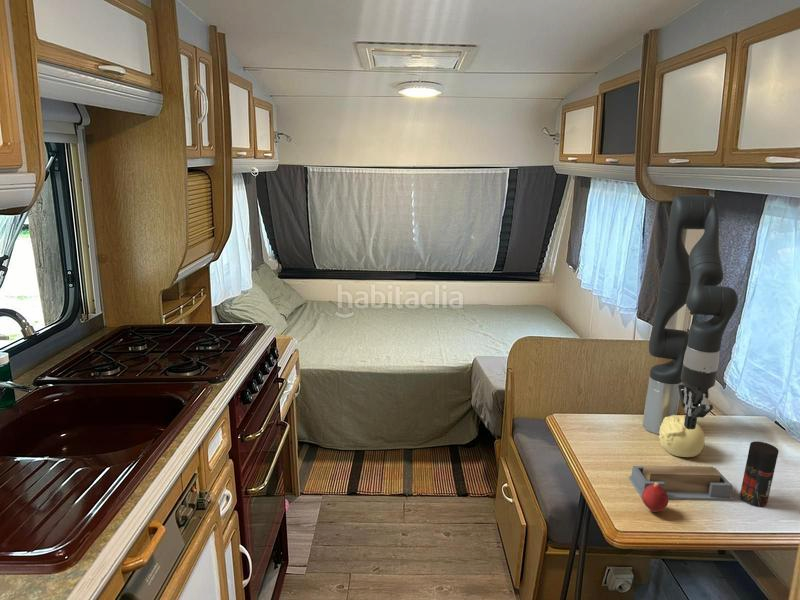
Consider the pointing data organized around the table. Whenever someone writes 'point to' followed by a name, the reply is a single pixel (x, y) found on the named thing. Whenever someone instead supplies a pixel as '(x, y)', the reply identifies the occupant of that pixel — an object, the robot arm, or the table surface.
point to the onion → (655, 497)
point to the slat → (682, 477)
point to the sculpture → (681, 437)
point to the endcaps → (715, 491)
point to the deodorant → (758, 473)
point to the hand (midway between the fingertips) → (689, 427)
